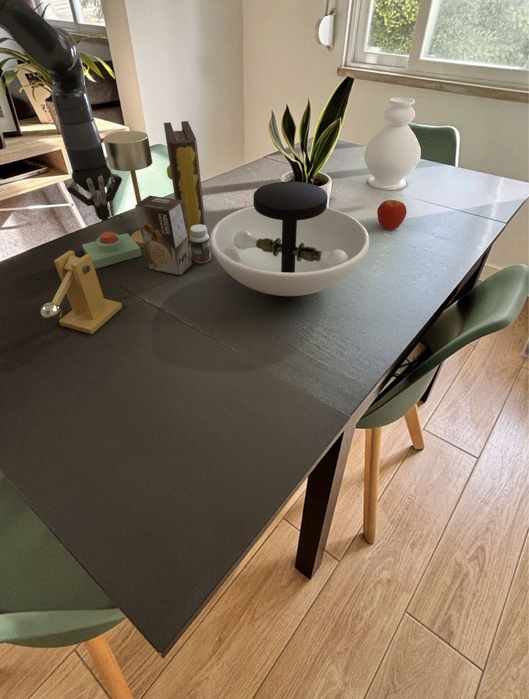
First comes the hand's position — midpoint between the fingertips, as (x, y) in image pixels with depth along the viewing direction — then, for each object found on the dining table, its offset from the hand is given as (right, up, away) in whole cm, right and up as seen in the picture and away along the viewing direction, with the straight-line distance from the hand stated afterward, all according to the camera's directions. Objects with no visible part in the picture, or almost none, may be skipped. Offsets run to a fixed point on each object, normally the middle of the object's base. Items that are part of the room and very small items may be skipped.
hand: (104, 219), depth 103 cm
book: (+18, +4, +19) cm, 26 cm away
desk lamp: (+7, -2, +12) cm, 14 cm away
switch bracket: (+3, -25, -14) cm, 28 cm away
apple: (+74, +3, +17) cm, 76 cm away
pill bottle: (+23, -9, +4) cm, 25 cm away
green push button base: (0, -7, +6) cm, 9 cm away
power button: (0, -4, +4) cm, 6 cm away
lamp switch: (+1, -21, -21) cm, 30 cm away
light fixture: (+44, -17, -6) cm, 48 cm away
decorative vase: (+81, +25, +42) cm, 94 cm away
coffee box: (+16, -11, +1) cm, 20 cm away
